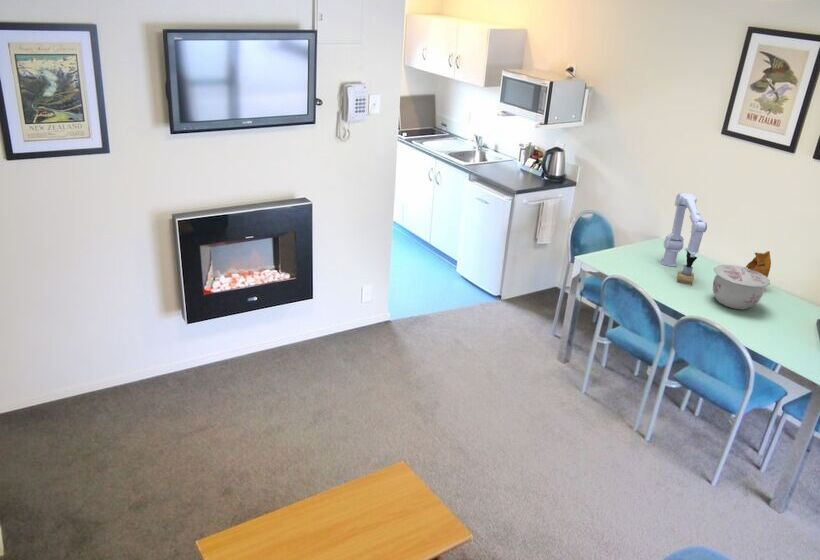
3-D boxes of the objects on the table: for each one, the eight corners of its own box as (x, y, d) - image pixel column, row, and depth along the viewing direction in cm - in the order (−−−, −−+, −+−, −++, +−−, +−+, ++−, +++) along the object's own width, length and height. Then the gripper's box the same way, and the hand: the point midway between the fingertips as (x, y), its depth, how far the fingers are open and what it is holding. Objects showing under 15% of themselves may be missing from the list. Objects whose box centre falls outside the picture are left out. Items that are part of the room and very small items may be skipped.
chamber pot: (728, 317, 340) (740, 280, 331) (694, 293, 364) (704, 258, 355) (773, 314, 348) (786, 278, 339) (737, 291, 371) (748, 257, 363)
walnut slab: (676, 277, 383) (677, 273, 382) (691, 280, 381) (692, 276, 380) (676, 282, 376) (677, 278, 375) (691, 286, 374) (692, 282, 373)
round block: (682, 271, 380) (684, 264, 378) (691, 273, 378) (693, 266, 376) (681, 274, 375) (683, 266, 374) (690, 276, 374) (692, 269, 372)
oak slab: (677, 273, 382) (678, 269, 381) (692, 276, 380) (693, 272, 379) (678, 279, 375) (679, 275, 374) (693, 282, 373) (694, 278, 372)
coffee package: (735, 285, 379) (747, 249, 370) (751, 283, 384) (763, 247, 375) (749, 292, 371) (761, 256, 362) (766, 290, 376) (778, 254, 366)
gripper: (687, 236, 376) (681, 258, 382) (687, 245, 364) (680, 267, 369) (700, 239, 374) (694, 261, 380) (700, 247, 362) (694, 270, 367)
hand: (688, 264), depth 374 cm, fingers open, 7 cm apart
